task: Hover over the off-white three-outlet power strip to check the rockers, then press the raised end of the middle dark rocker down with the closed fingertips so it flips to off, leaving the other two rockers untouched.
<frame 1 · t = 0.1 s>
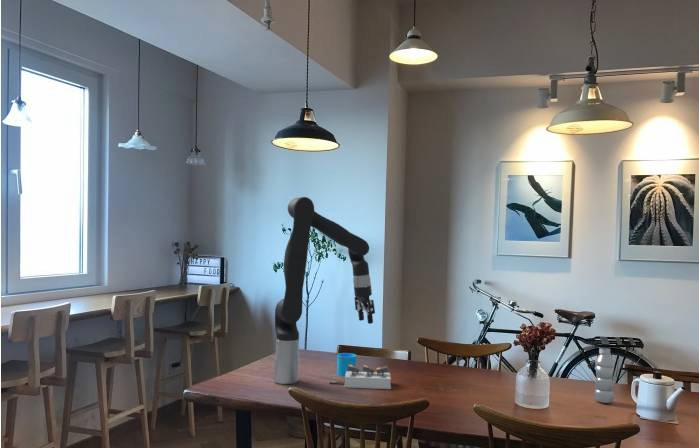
hand: (366, 321, 233), 22 cm above the table, tool pointing down, fingers open, 8 cm apart
power strip: (367, 385, 215), on the table
rocker 3: (382, 369, 216), point 6 cm above the table, hinge at -15.0°
rocker 2: (368, 369, 216), point 6 cm above the table, hinge at 15.0°
plastic bottle: (603, 403, 199), on the table
mug: (347, 373, 233), on the table
rocker 1: (353, 368, 216), point 6 cm above the table, hinge at 15.0°
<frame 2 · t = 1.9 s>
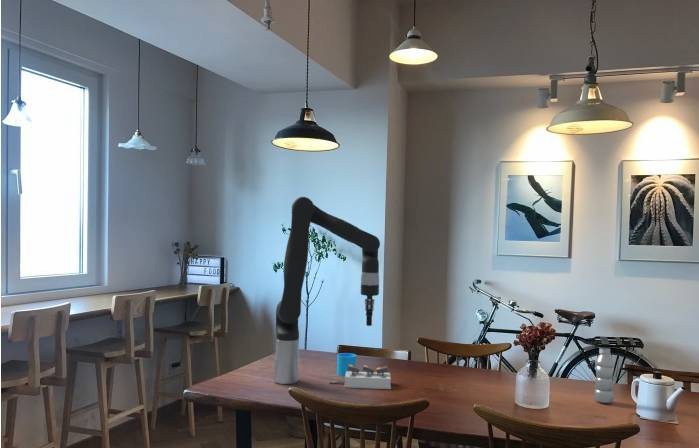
hand: (369, 325, 220), 23 cm above the table, tool pointing down, fingers closed
nothing on the table moved.
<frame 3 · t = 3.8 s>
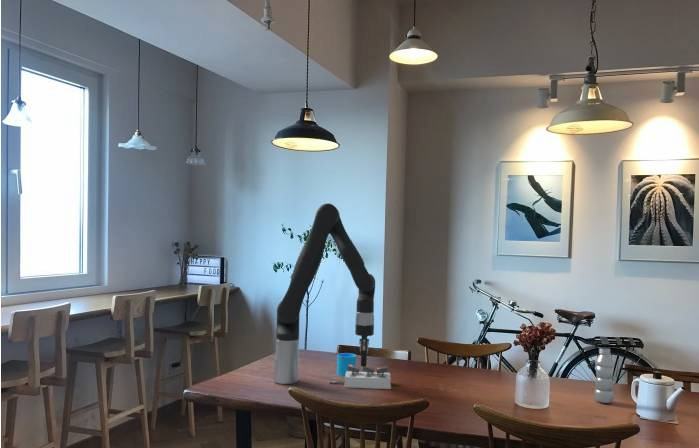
hand: (363, 365, 216), 7 cm above the table, tool pointing down, fingers closed
rocker 2: (368, 369, 216), point 6 cm above the table, hinge at 14.6°, touching gripper
everything else where it was.
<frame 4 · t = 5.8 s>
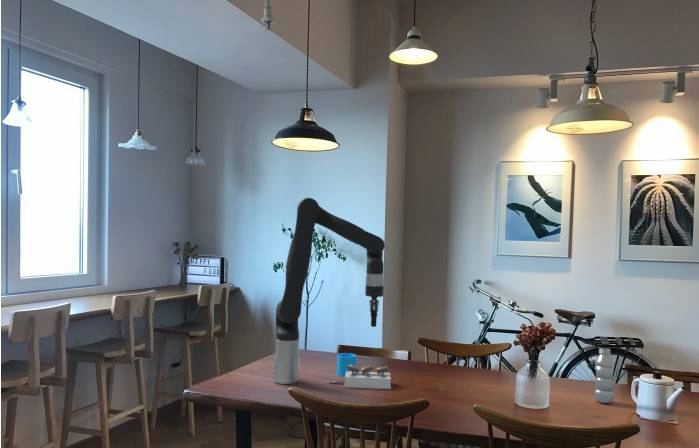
hand: (373, 326, 221), 22 cm above the table, tool pointing down, fingers closed
rocker 2: (367, 369, 216), point 6 cm above the table, hinge at -24.4°
everything else where it was.
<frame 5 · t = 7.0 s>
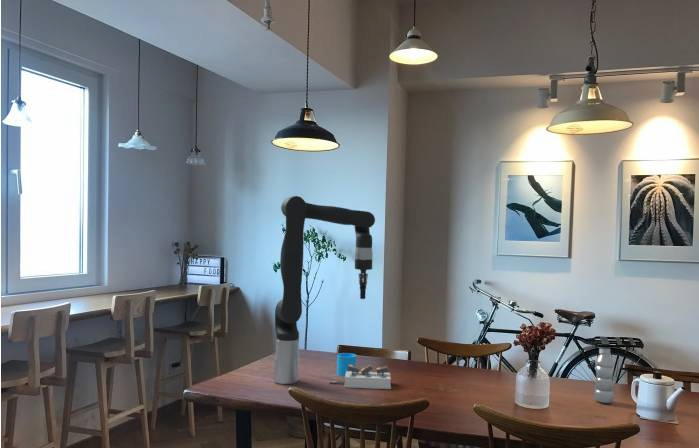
hand: (362, 298, 229), 33 cm above the table, tool pointing down, fingers closed
rocker 2: (366, 369, 216), point 6 cm above the table, hinge at -33.1°, touching power strip
everything else where it was.
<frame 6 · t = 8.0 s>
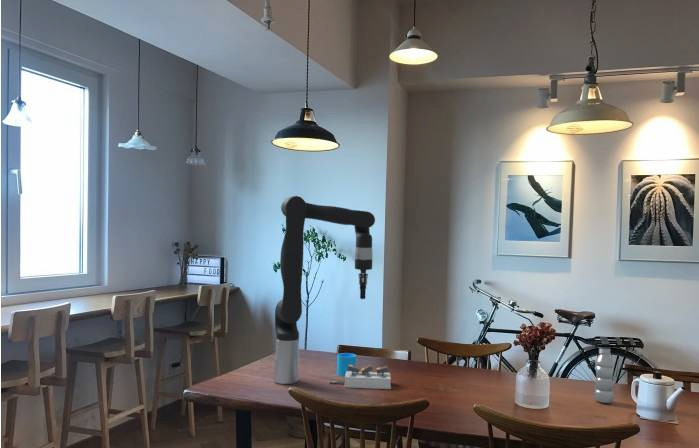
hand: (362, 298, 229), 33 cm above the table, tool pointing down, fingers closed
rocker 2: (366, 369, 216), point 6 cm above the table, hinge at -30.8°
everything else where it was.
at the end: rocker 2 at -31° (first picture: +15°); rocker 1 at +15° (first picture: +15°); rocker 3 at -15° (first picture: -15°) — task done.
